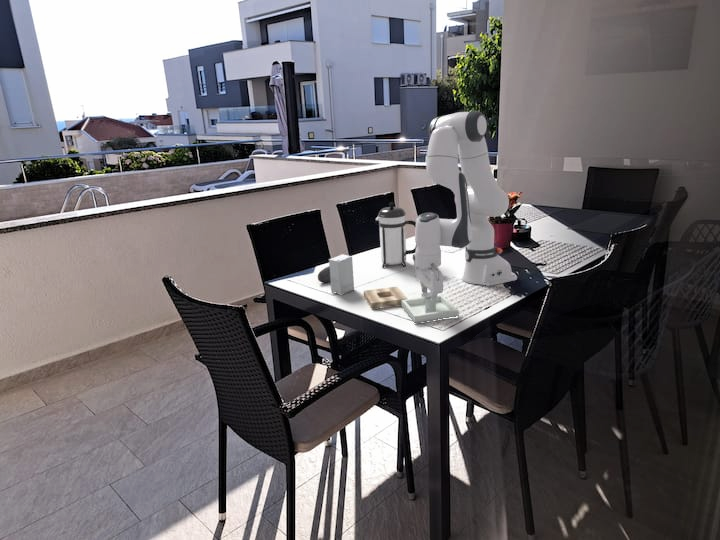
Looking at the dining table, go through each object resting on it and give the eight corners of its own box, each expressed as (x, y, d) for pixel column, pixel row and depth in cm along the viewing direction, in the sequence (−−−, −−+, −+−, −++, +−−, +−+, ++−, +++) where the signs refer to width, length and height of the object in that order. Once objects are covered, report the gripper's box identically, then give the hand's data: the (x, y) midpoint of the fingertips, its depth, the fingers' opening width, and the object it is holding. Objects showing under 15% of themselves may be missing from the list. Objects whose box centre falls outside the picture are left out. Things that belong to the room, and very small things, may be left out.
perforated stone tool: (321, 285, 212) (320, 270, 210) (315, 282, 216) (313, 268, 214) (349, 277, 220) (348, 262, 218) (342, 274, 225) (341, 260, 222)
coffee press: (394, 271, 224) (392, 207, 215) (372, 264, 236) (368, 203, 227) (421, 263, 234) (419, 200, 225) (398, 256, 246) (395, 197, 237)
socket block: (397, 292, 199) (397, 286, 198) (407, 304, 186) (407, 298, 185) (363, 296, 196) (363, 290, 196) (371, 309, 183) (371, 303, 183)
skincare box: (344, 287, 209) (342, 253, 204) (355, 289, 205) (353, 255, 200) (330, 292, 203) (327, 258, 198) (340, 295, 199) (338, 260, 194)
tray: (442, 302, 186) (441, 294, 185) (458, 318, 171) (458, 310, 170) (401, 307, 183) (401, 300, 183) (414, 324, 168) (414, 316, 168)
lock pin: (432, 307, 179) (432, 292, 177) (436, 311, 176) (435, 295, 174) (421, 308, 179) (421, 293, 177) (425, 312, 175) (425, 297, 173)
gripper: (447, 267, 162) (447, 306, 166) (427, 251, 181) (427, 286, 185) (429, 269, 161) (430, 308, 165) (410, 253, 180) (411, 288, 184)
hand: (428, 296), depth 176 cm, fingers open, 8 cm apart
